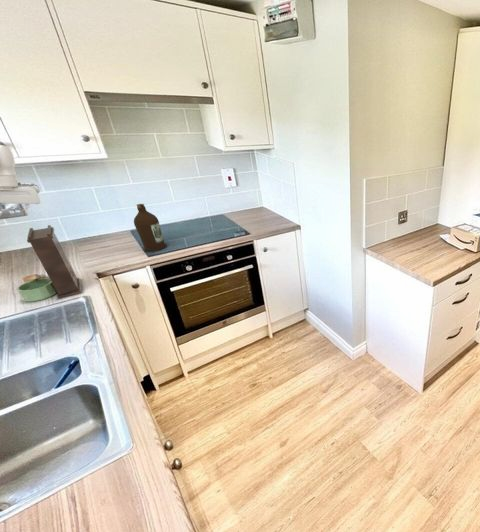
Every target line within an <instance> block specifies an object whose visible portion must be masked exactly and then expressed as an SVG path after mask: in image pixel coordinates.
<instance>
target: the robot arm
mask: <svg viewBox="0 0 480 532" xmlns="http://www.w3.org/2000/svg"><path fill="white" fill-rule="evenodd" d="M15 169H16V162H15V158H14V154H13V152H12V149H11V148H10V147H9V146H8V145H5V144H2V143H0V204H9V205H10V204H11V205H12V204H13V205H14V204H15V205H24V209H21V214H22V215H27V214H28V211H27V210H28V209H30V207H31V206H30V205H39V204H41V199H40V196H39V194H40V191H41V190H40V187H39V186H38V184H34V183H32V182H29V183H27V182H19V179H18V178H19V177H18V174H17V172H16V170H15Z"/></svg>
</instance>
